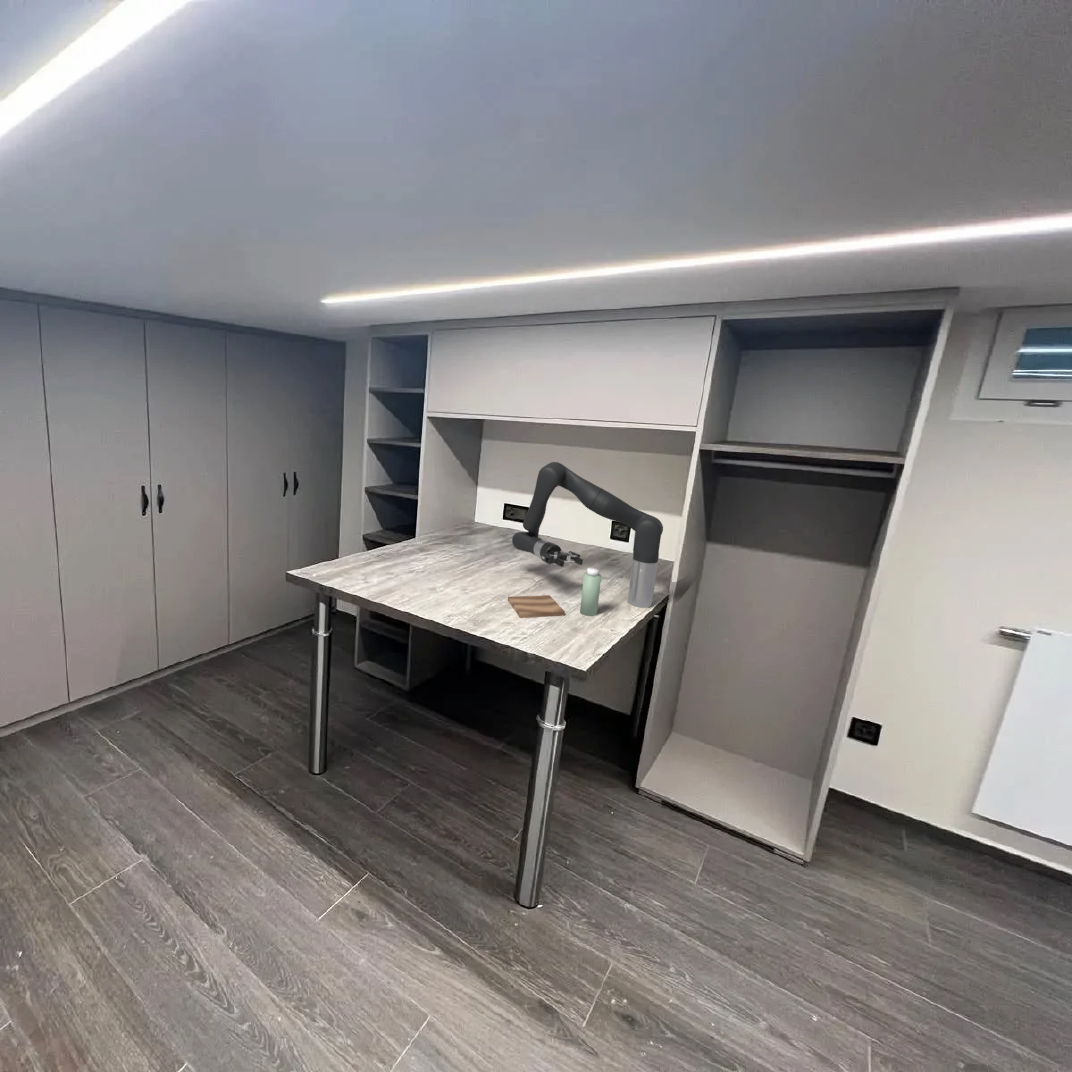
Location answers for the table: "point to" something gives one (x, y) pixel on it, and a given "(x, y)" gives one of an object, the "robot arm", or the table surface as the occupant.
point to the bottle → (590, 592)
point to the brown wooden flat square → (535, 606)
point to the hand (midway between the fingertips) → (572, 563)
